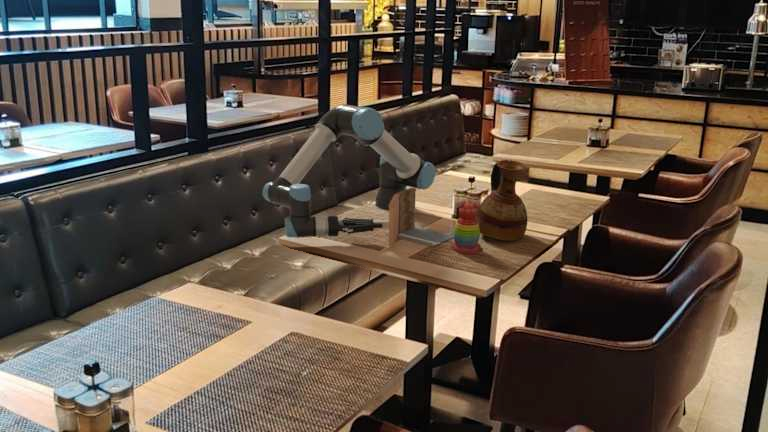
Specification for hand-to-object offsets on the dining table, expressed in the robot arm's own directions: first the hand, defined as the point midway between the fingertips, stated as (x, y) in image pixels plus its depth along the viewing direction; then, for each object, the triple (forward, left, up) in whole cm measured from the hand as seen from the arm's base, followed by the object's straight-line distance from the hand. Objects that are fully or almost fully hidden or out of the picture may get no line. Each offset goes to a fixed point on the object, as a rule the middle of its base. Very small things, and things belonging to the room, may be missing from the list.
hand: (390, 224), depth 275 cm
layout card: (-13, +4, -7) cm, 16 cm away
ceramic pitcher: (-33, +28, -7) cm, 44 cm away
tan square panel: (-1, +1, -6) cm, 6 cm away
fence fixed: (-14, -4, -7) cm, 16 cm away
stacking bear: (-11, +26, -7) cm, 30 cm away
